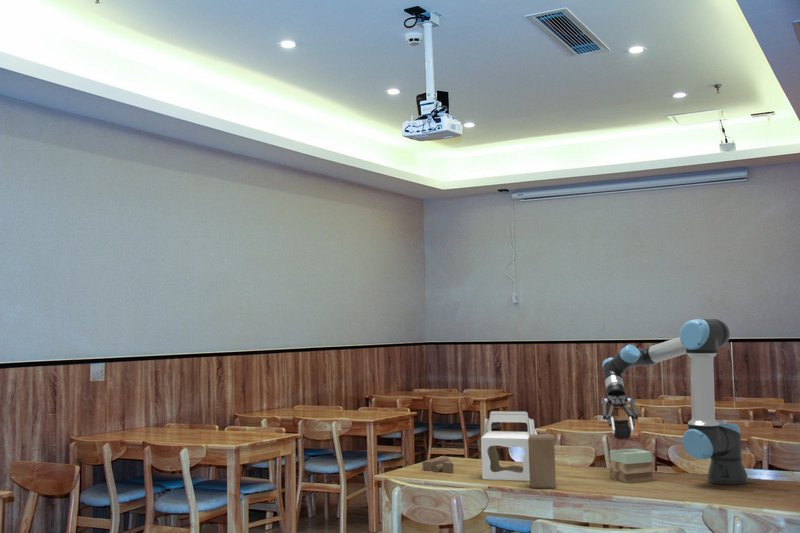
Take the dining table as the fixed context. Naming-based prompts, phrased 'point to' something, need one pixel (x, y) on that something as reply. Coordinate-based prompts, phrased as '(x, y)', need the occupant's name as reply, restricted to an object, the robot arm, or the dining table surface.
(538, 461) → the block
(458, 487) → the dining table surface
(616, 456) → the slab top
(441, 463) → the wooden block set
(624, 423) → the mate gourd
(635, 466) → the slab middle
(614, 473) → the slab bottom
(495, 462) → the gable box
